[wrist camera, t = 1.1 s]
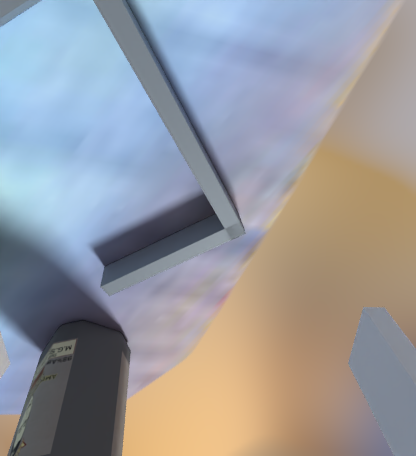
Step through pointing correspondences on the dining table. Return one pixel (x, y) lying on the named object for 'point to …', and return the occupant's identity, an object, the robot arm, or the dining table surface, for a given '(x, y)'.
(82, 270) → the dining table surface
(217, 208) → the corral
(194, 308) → the dining table surface
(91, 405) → the liquor
